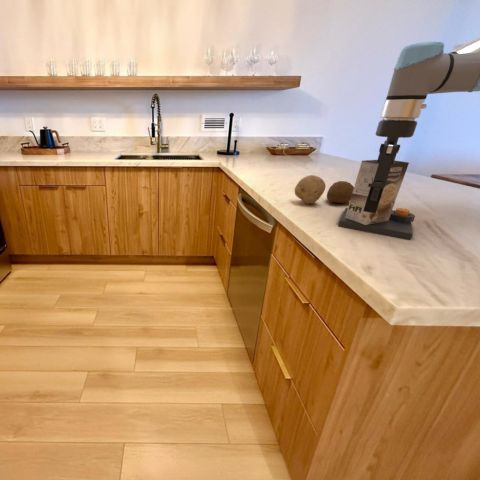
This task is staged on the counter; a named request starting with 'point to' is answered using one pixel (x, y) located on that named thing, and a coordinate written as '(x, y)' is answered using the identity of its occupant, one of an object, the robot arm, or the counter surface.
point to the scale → (383, 225)
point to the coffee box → (362, 190)
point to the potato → (340, 192)
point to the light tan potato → (310, 189)
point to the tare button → (402, 211)
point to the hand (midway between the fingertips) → (370, 206)
